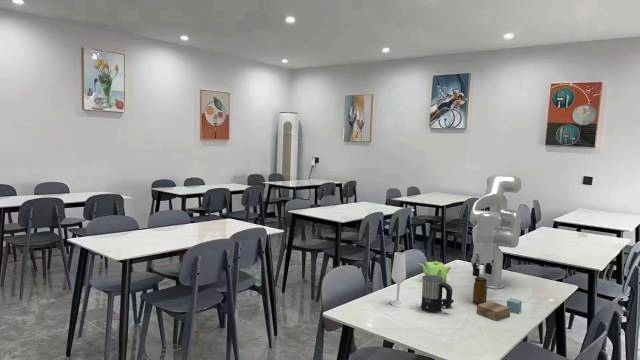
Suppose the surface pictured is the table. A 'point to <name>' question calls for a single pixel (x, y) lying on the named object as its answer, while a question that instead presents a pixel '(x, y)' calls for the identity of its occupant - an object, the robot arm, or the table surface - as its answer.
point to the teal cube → (514, 305)
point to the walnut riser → (493, 310)
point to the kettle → (436, 269)
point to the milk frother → (435, 294)
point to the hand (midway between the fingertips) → (482, 274)
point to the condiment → (479, 291)
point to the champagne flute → (398, 274)
